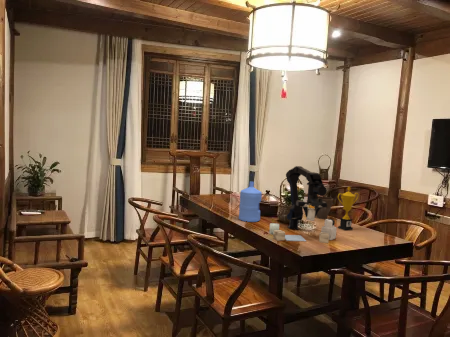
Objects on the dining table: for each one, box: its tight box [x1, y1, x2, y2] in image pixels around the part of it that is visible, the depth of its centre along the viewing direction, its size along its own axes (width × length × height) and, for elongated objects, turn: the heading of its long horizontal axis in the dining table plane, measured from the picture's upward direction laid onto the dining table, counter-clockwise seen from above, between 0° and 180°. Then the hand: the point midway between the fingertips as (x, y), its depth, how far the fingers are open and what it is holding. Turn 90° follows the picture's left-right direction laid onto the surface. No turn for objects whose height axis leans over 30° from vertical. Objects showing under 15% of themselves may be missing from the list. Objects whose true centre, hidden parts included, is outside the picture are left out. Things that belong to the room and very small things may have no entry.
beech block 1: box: [272, 229, 286, 242], centre depth 225 cm, size 5×5×5 cm
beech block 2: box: [318, 231, 330, 244], centre depth 226 cm, size 5×5×5 cm
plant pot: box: [313, 195, 334, 220], centre depth 293 cm, size 15×15×16 cm
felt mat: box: [285, 234, 307, 242], centre depth 229 cm, size 12×12×1 cm
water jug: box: [238, 181, 263, 223], centre depth 271 cm, size 16×16×28 cm
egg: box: [306, 207, 316, 222], centre depth 236 cm, size 5×5×7 cm
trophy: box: [337, 186, 360, 231], centre depth 260 cm, size 19×10×30 cm, turn 116°
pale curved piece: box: [268, 222, 280, 236], centre depth 238 cm, size 6×6×6 cm
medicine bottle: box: [320, 218, 338, 241], centre depth 234 cm, size 7×7×12 cm
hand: (310, 217), depth 236 cm, fingers closed on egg, 5 cm apart
